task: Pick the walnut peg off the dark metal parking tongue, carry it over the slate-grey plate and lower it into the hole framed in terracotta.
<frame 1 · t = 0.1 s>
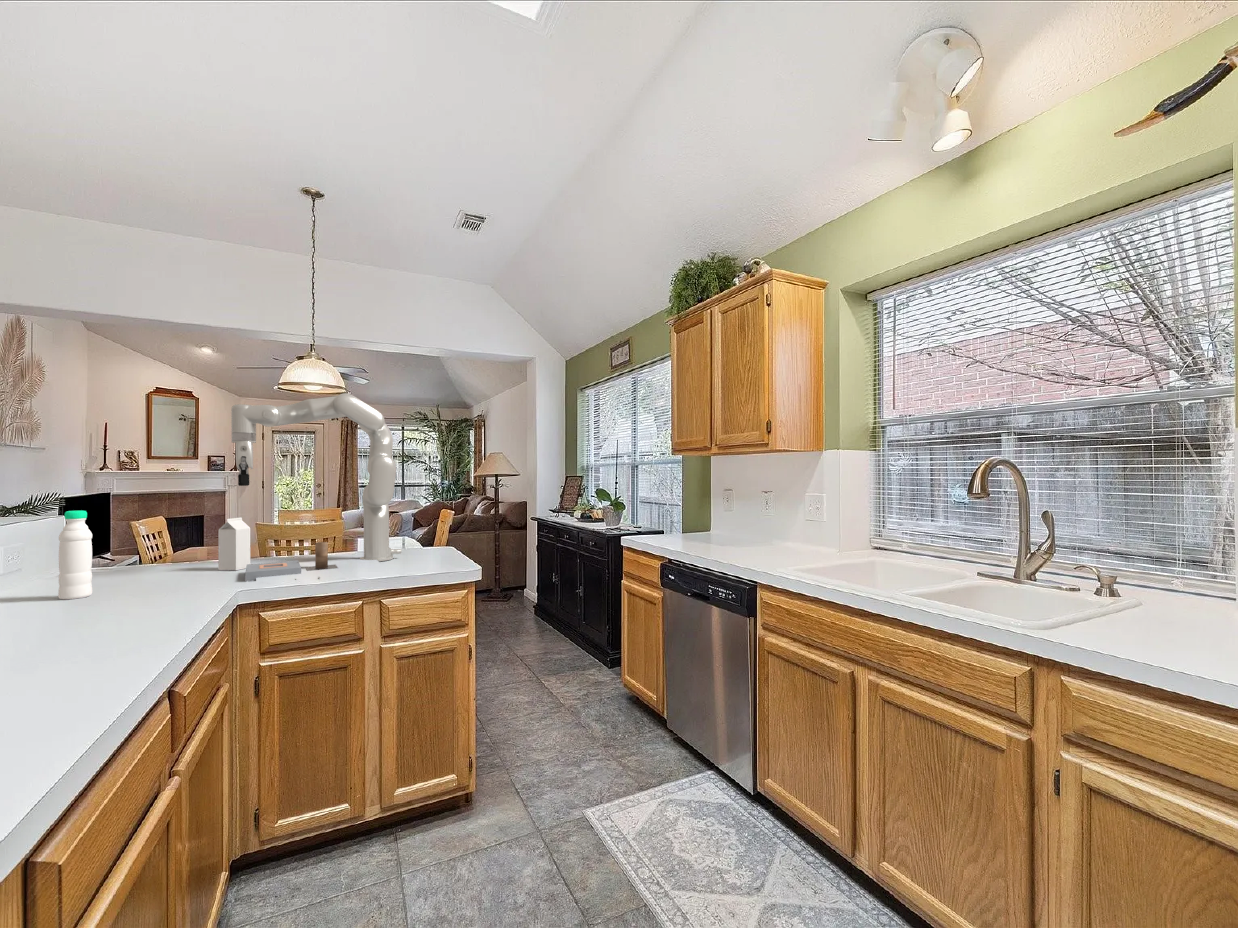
hand: (243, 485, 207), 31 cm above the table, tool pointing down, fingers open, 9 cm apart
tongue: (321, 570, 207), on the table
milk carton: (234, 569, 212), on the table
milk bottle: (75, 598, 164), on the table
hole plate: (273, 574, 199), on the table
peg: (321, 567, 207), point 1 cm above the table, touching tongue
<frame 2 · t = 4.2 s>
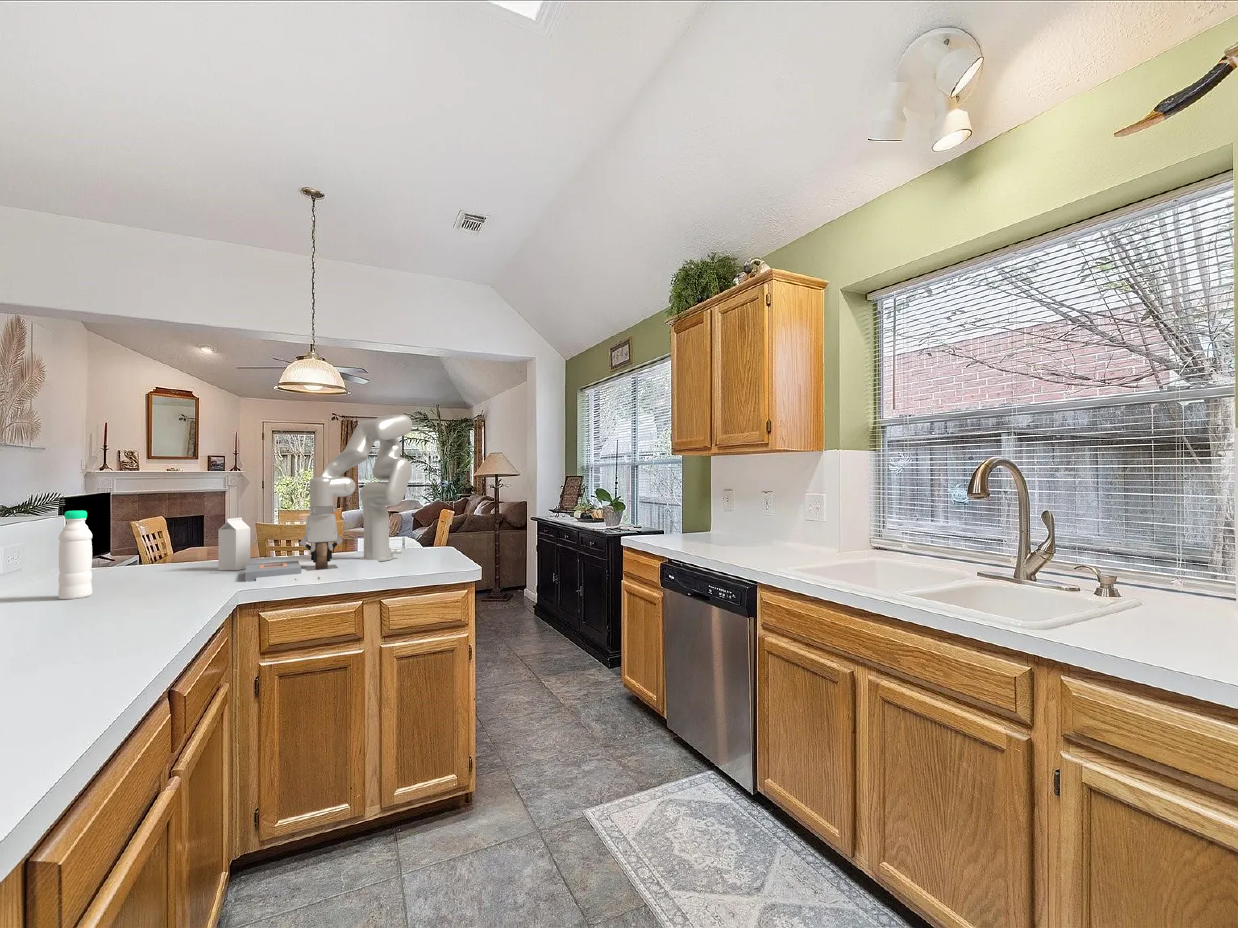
hand: (321, 561, 207), 3 cm above the table, tool pointing down, fingers closed on peg, 4 cm apart
peg: (321, 567, 207), point 1 cm above the table, touching gripper, tongue
everything else where it was.
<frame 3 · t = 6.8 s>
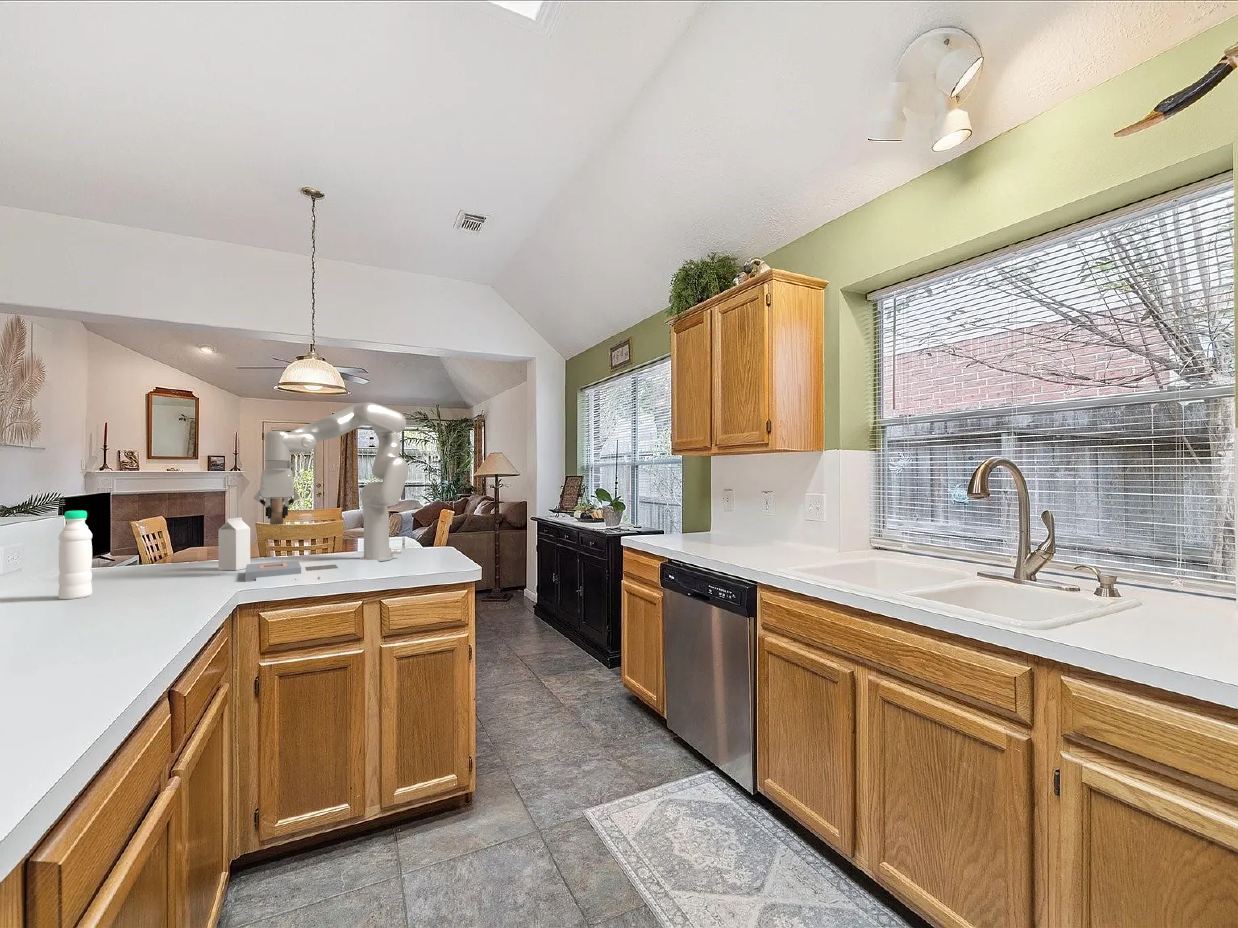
hand: (276, 517, 200), 20 cm above the table, tool pointing down, fingers closed on peg, 4 cm apart
peg: (276, 524, 199), point 18 cm above the table, touching gripper
everything else where it was.
when the fingers open (4 cm above the table, at t = 9.5 s): peg drops 2 cm, resting in hole plate.
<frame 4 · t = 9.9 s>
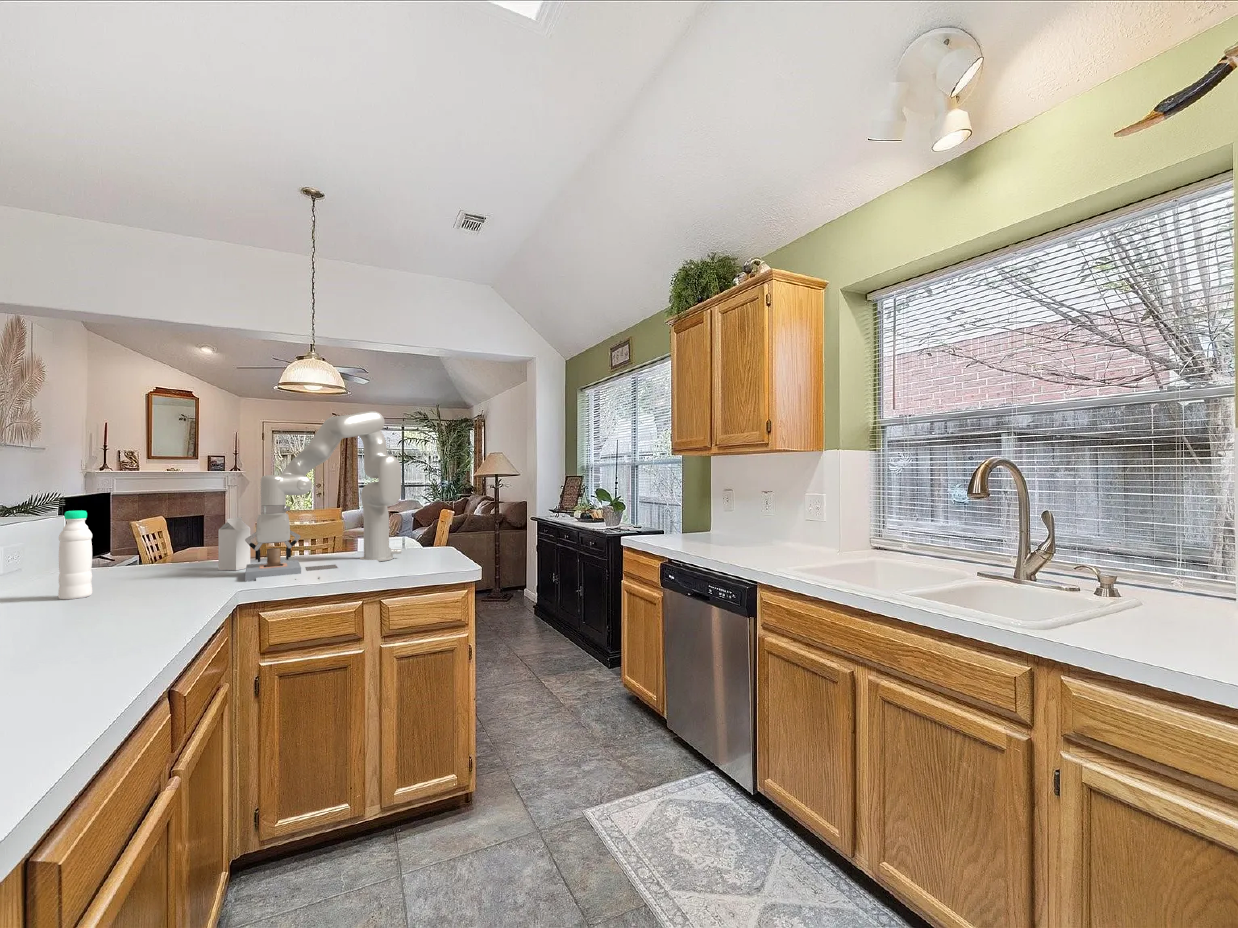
hand: (273, 560, 199), 5 cm above the table, tool pointing down, fingers open, 8 cm apart
peg: (273, 574, 199), resting in hole plate
everything else where it was.
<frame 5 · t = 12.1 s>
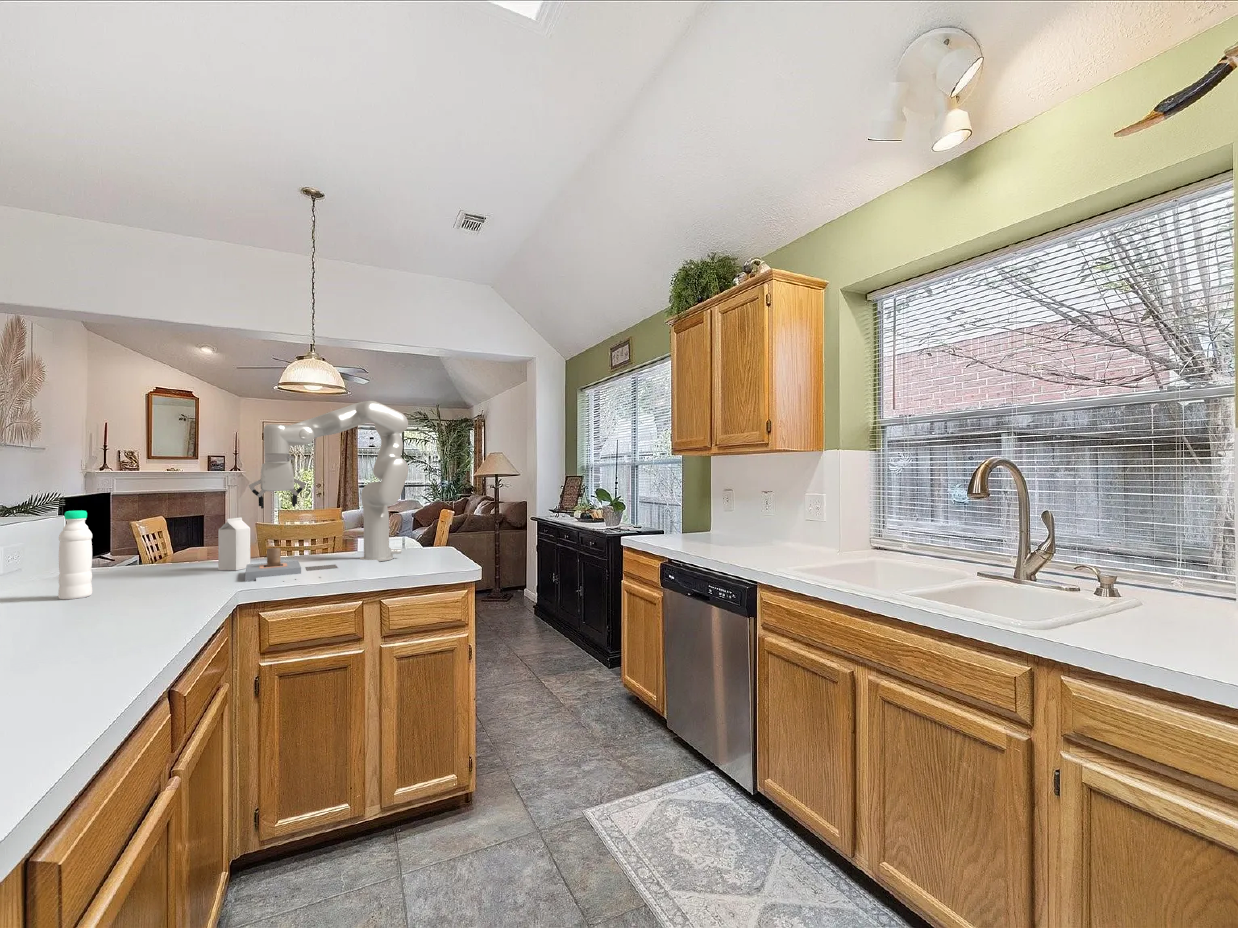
hand: (278, 507, 202), 23 cm above the table, tool pointing down, fingers open, 9 cm apart
nothing on the table moved.
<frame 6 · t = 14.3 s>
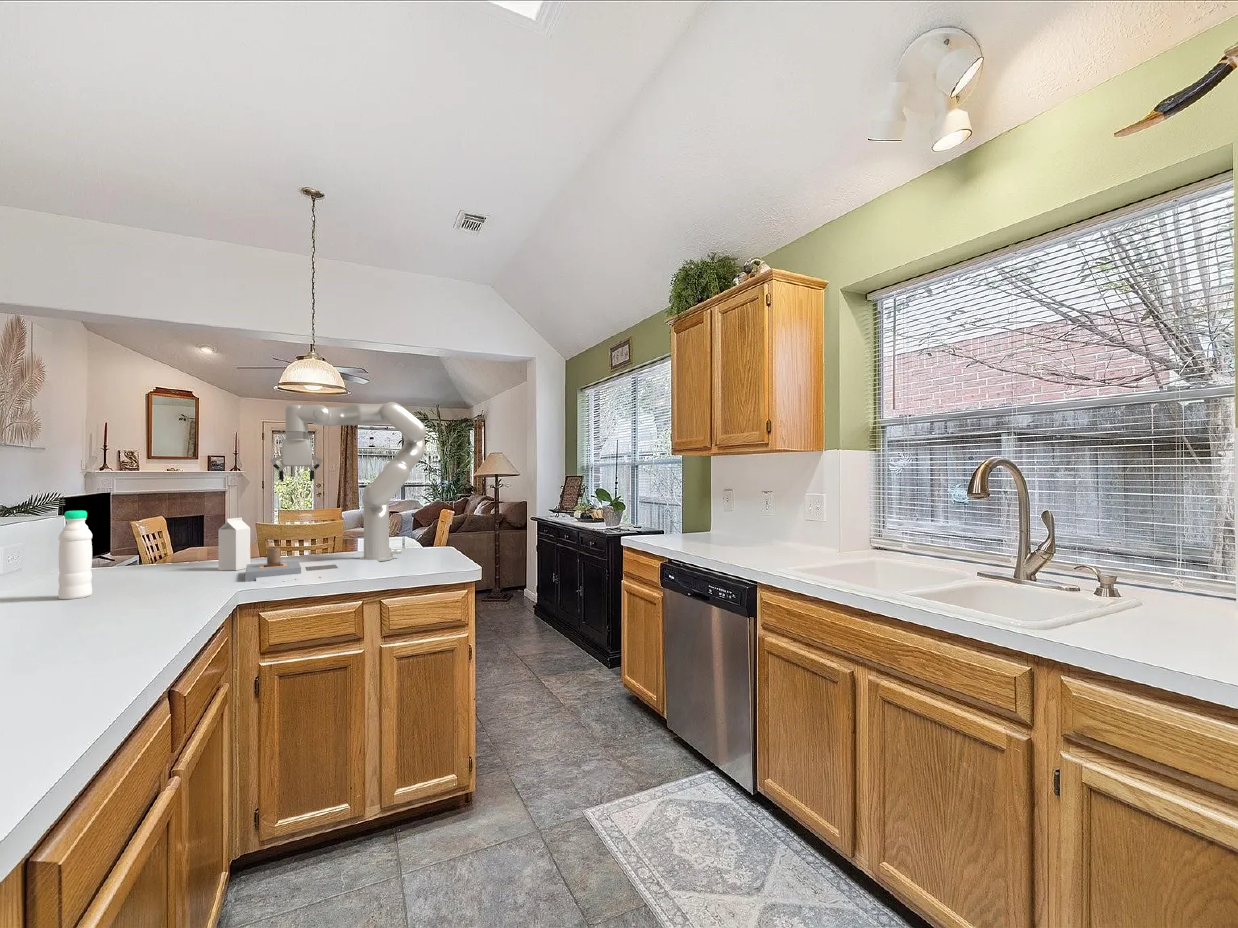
hand: (296, 481, 218), 32 cm above the table, tool pointing down, fingers open, 9 cm apart
nothing on the table moved.
at the end: peg 0.1 cm off-centre on the hole plate, point 0.0 cm above the hole plate's base; peg tilted 0°; the gripper is holding nothing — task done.
